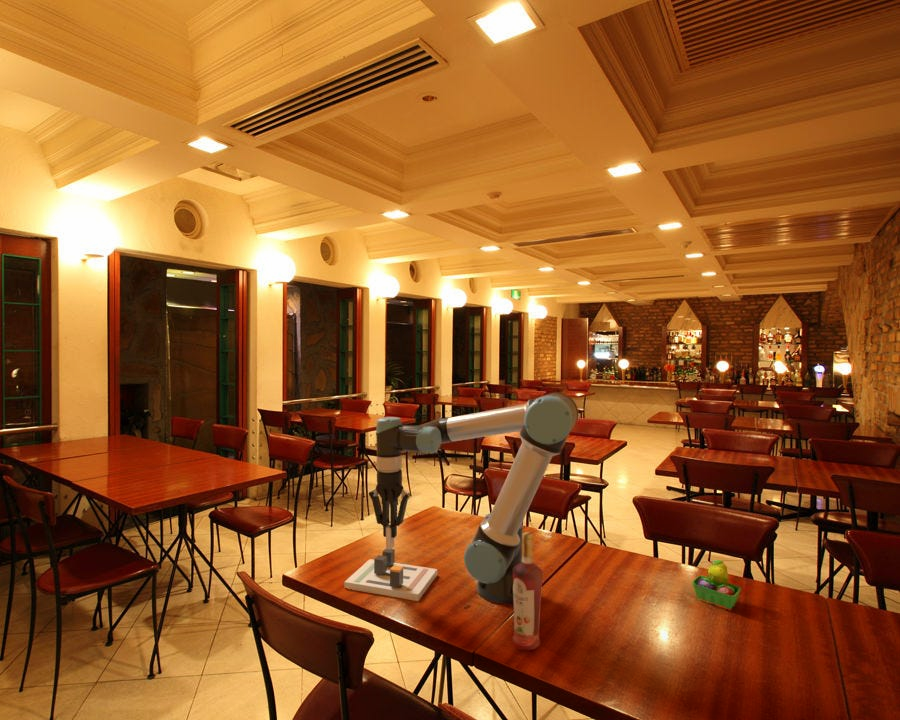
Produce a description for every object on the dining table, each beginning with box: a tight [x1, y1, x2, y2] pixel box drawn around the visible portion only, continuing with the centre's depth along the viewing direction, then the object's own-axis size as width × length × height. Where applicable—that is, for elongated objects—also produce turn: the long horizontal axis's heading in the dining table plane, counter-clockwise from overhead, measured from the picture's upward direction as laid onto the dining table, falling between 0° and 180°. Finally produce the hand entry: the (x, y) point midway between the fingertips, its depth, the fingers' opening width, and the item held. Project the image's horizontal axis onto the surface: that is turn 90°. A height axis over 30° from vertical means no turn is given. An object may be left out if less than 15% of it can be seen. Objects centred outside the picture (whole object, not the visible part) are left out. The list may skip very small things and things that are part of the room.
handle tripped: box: [390, 565, 403, 588], centre depth 147 cm, size 3×3×5 cm
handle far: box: [381, 548, 396, 567], centre depth 161 cm, size 3×3×4 cm
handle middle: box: [373, 554, 387, 575], centre depth 155 cm, size 3×3×4 cm
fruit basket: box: [691, 559, 742, 610], centre depth 144 cm, size 11×9×11 cm
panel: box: [344, 558, 438, 602], centre depth 154 cm, size 24×17×2 cm
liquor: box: [511, 531, 543, 652], centre depth 121 cm, size 7×7×28 cm
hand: (390, 547), depth 147 cm, fingers closed
